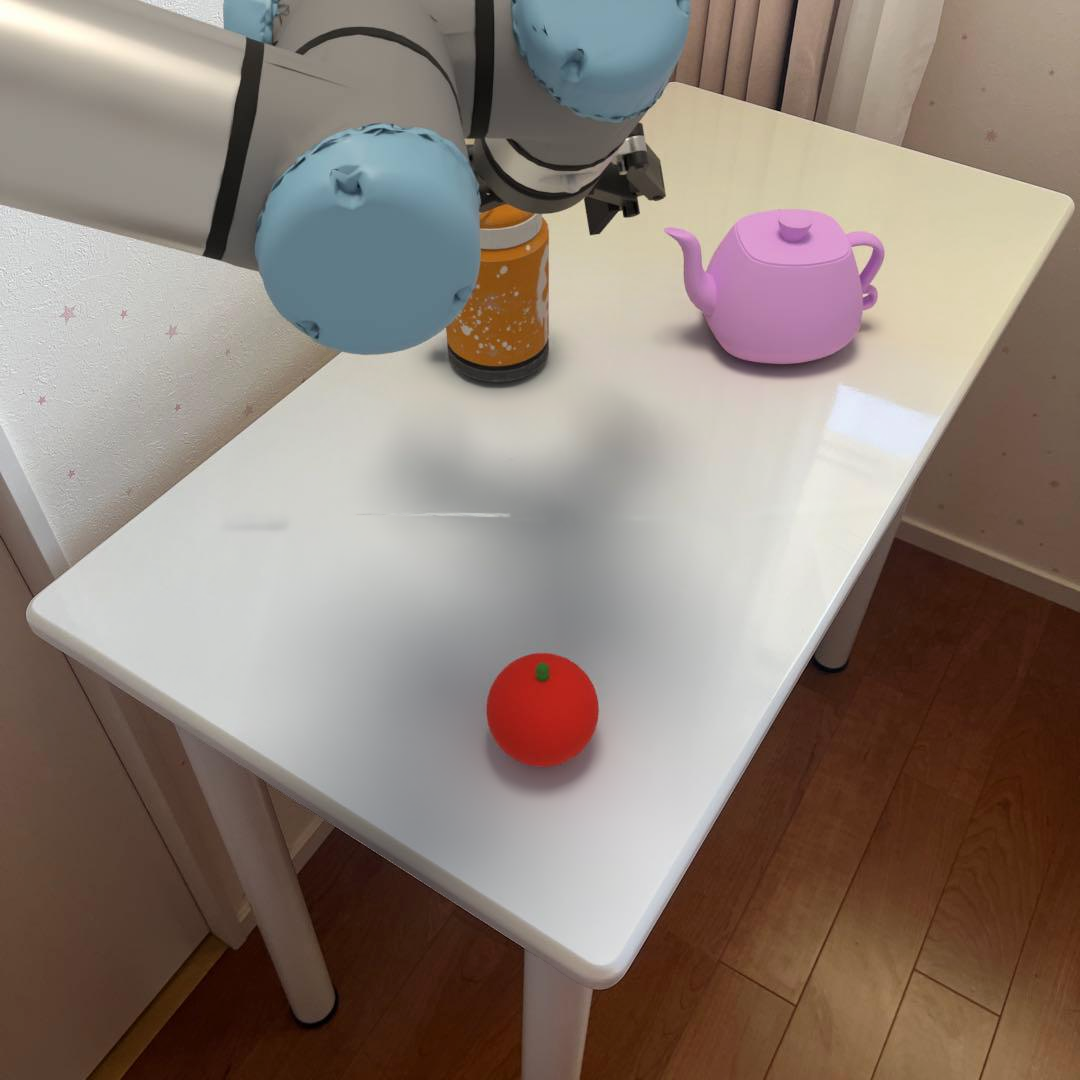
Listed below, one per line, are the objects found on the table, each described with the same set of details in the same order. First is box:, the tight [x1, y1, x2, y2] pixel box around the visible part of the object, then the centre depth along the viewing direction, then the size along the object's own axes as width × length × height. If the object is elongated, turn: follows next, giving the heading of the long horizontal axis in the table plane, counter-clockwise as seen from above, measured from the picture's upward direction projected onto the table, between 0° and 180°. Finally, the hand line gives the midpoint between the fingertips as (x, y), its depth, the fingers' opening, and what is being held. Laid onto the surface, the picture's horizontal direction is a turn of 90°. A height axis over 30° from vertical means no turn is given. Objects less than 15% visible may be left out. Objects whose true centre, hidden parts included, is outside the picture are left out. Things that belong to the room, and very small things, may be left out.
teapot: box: [663, 208, 886, 365], centre depth 97 cm, size 20×13×12 cm, turn 96°
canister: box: [445, 143, 550, 383], centre depth 91 cm, size 9×11×20 cm
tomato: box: [486, 652, 600, 768], centre depth 68 cm, size 7×7×8 cm
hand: (501, 228), depth 81 cm, fingers open, 13 cm apart
